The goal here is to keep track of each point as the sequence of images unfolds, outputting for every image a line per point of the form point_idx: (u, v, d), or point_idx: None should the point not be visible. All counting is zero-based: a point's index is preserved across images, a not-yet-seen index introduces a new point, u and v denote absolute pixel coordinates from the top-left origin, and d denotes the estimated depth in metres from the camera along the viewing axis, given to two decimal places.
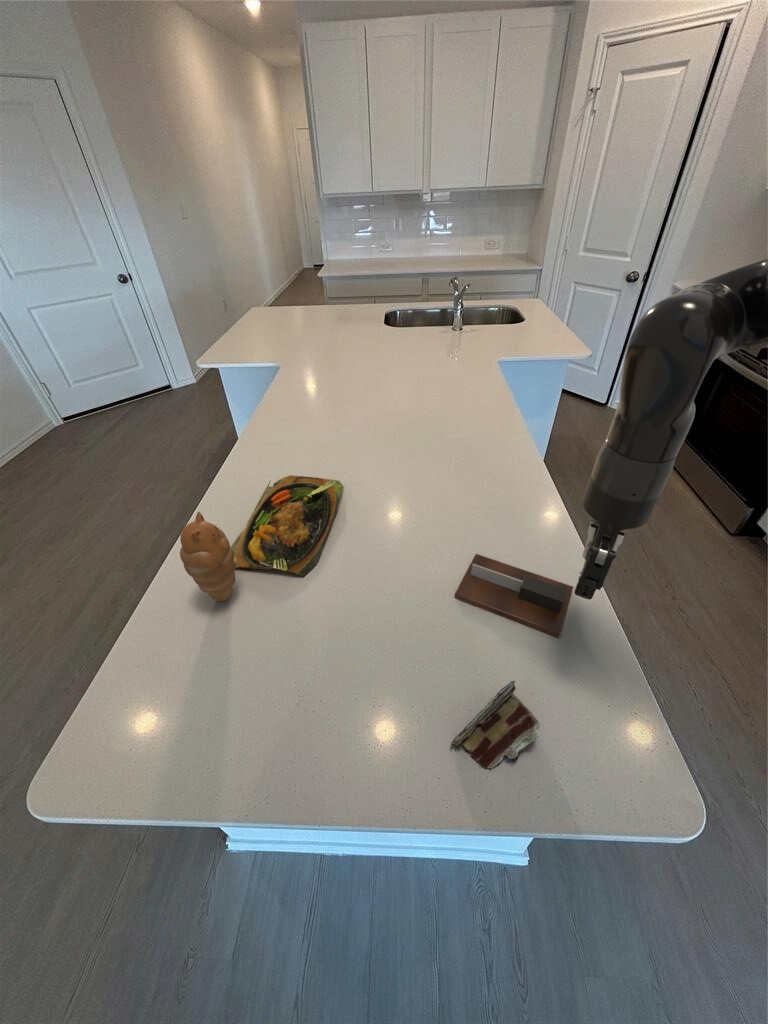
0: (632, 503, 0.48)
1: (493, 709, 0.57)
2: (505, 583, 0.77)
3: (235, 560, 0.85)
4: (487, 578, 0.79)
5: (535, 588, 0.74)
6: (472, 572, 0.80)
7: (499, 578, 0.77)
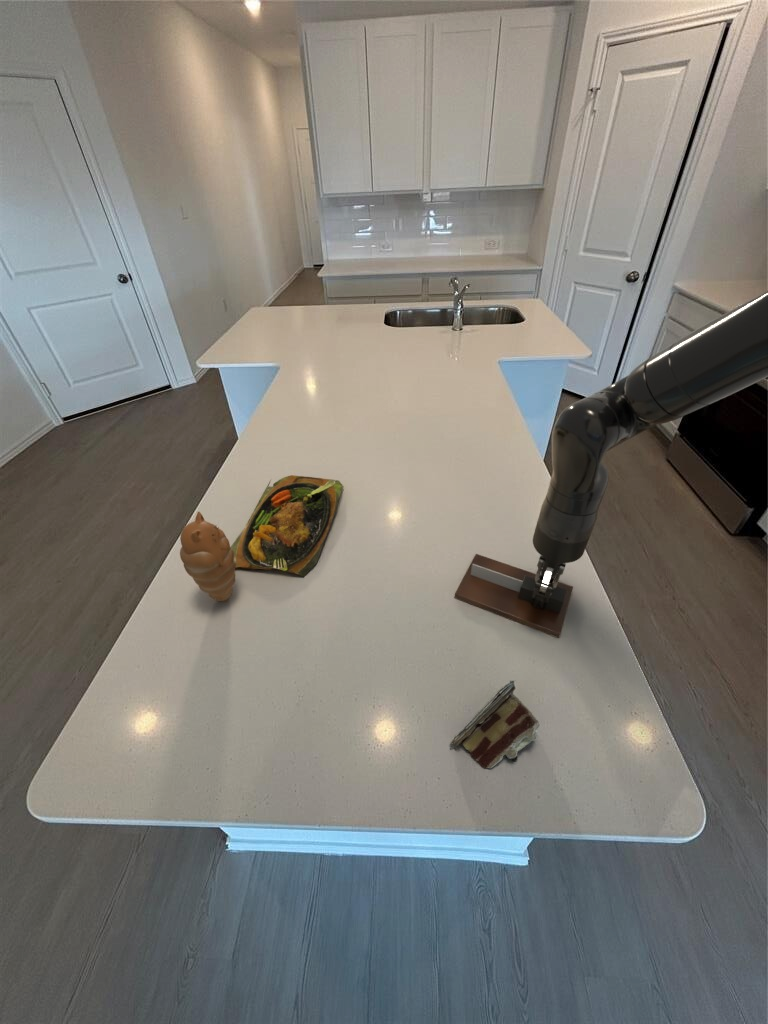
0: (566, 544, 0.62)
1: (493, 709, 0.57)
2: (505, 583, 0.77)
3: (235, 560, 0.85)
4: (487, 578, 0.79)
5: None
6: (472, 572, 0.80)
7: (499, 578, 0.77)
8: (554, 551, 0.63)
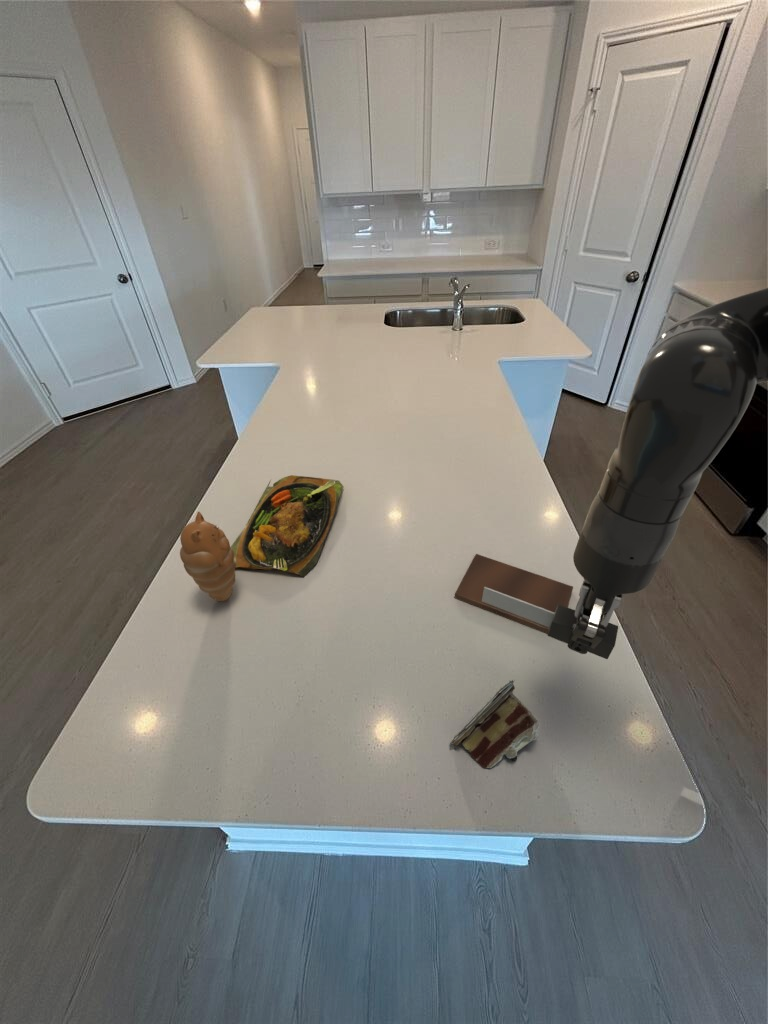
0: (629, 567, 0.41)
1: (492, 709, 0.57)
2: (529, 614, 0.56)
3: (235, 560, 0.85)
4: (504, 607, 0.57)
5: (572, 623, 0.52)
6: (484, 598, 0.59)
7: (521, 607, 0.56)
8: (609, 576, 0.42)
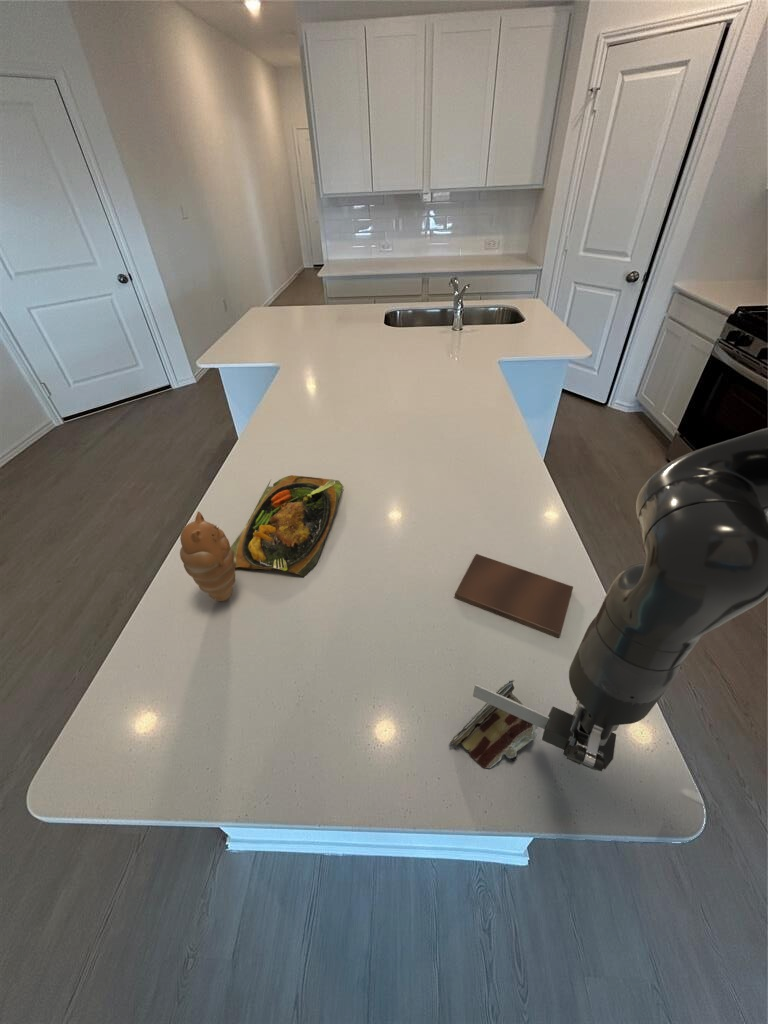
0: (629, 704, 0.38)
1: (492, 709, 0.57)
2: (523, 715, 0.53)
3: (235, 560, 0.85)
4: (496, 704, 0.55)
5: (568, 731, 0.50)
6: (475, 694, 0.56)
7: (514, 708, 0.53)
8: (608, 709, 0.39)
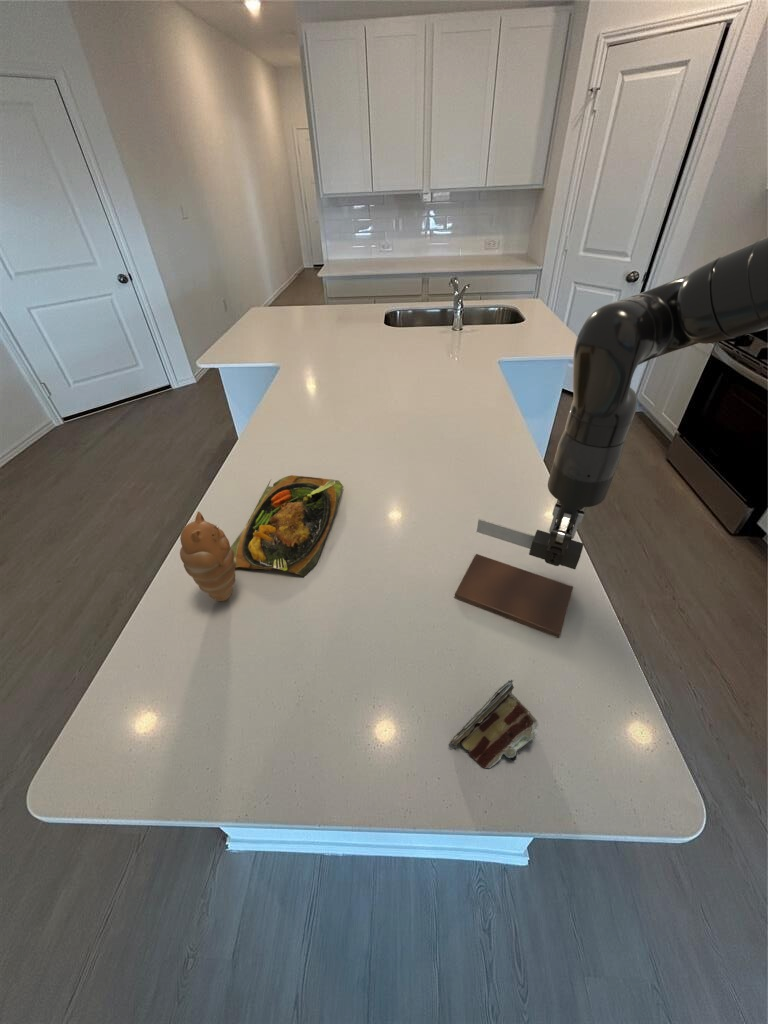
0: (587, 483, 0.55)
1: (491, 708, 0.57)
2: (515, 539, 0.70)
3: (235, 560, 0.85)
4: (495, 534, 0.72)
5: None
6: (478, 529, 0.73)
7: (508, 534, 0.70)
8: (573, 493, 0.56)
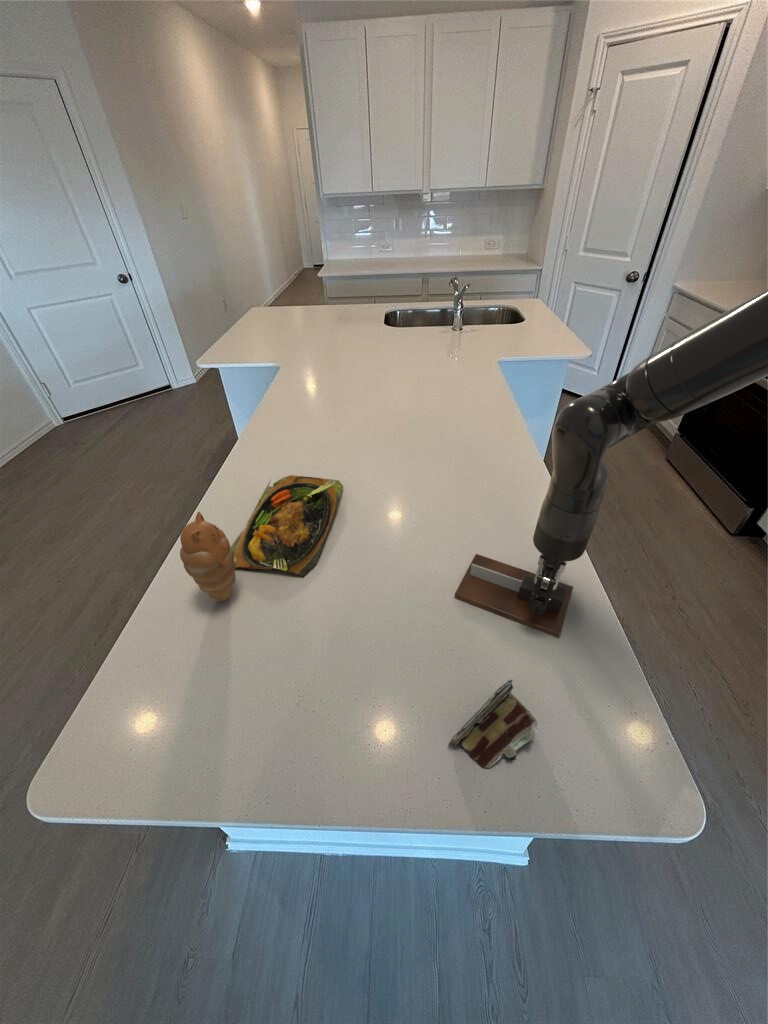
0: (567, 542, 0.62)
1: (491, 708, 0.57)
2: (504, 583, 0.77)
3: (235, 560, 0.85)
4: (486, 578, 0.79)
5: None
6: (471, 572, 0.80)
7: (498, 578, 0.77)
8: (555, 549, 0.63)
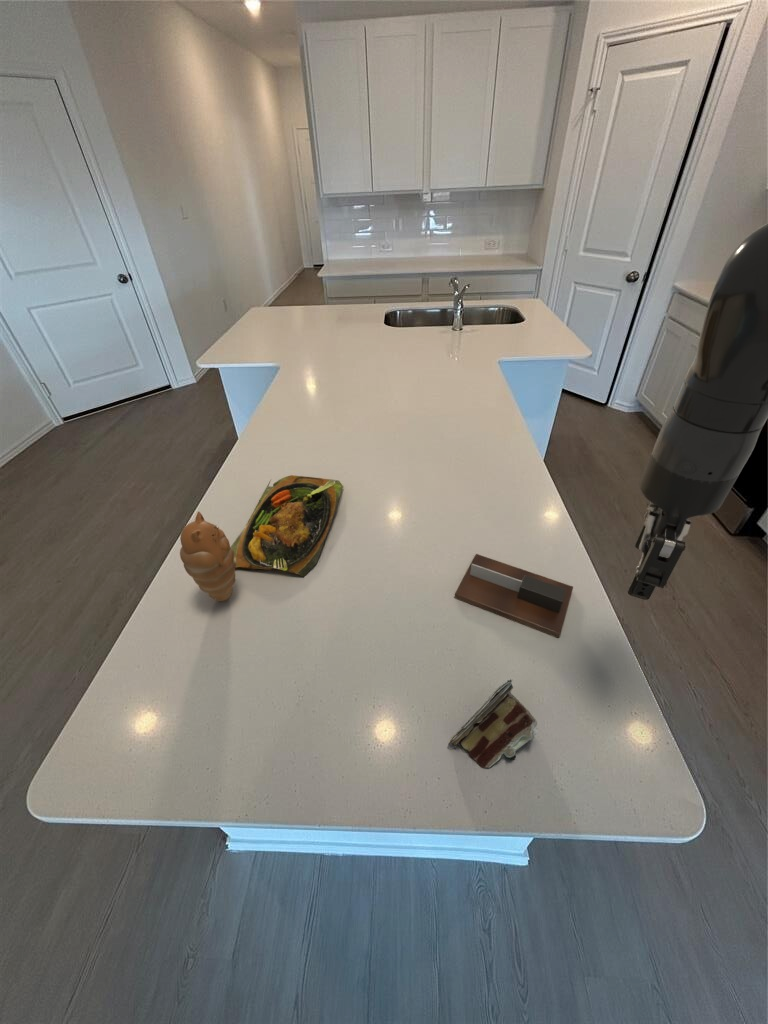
0: (706, 484, 0.40)
1: (490, 708, 0.58)
2: (504, 583, 0.77)
3: (235, 560, 0.85)
4: (486, 578, 0.79)
5: (534, 588, 0.74)
6: (471, 572, 0.80)
7: (498, 578, 0.77)
8: (683, 497, 0.42)
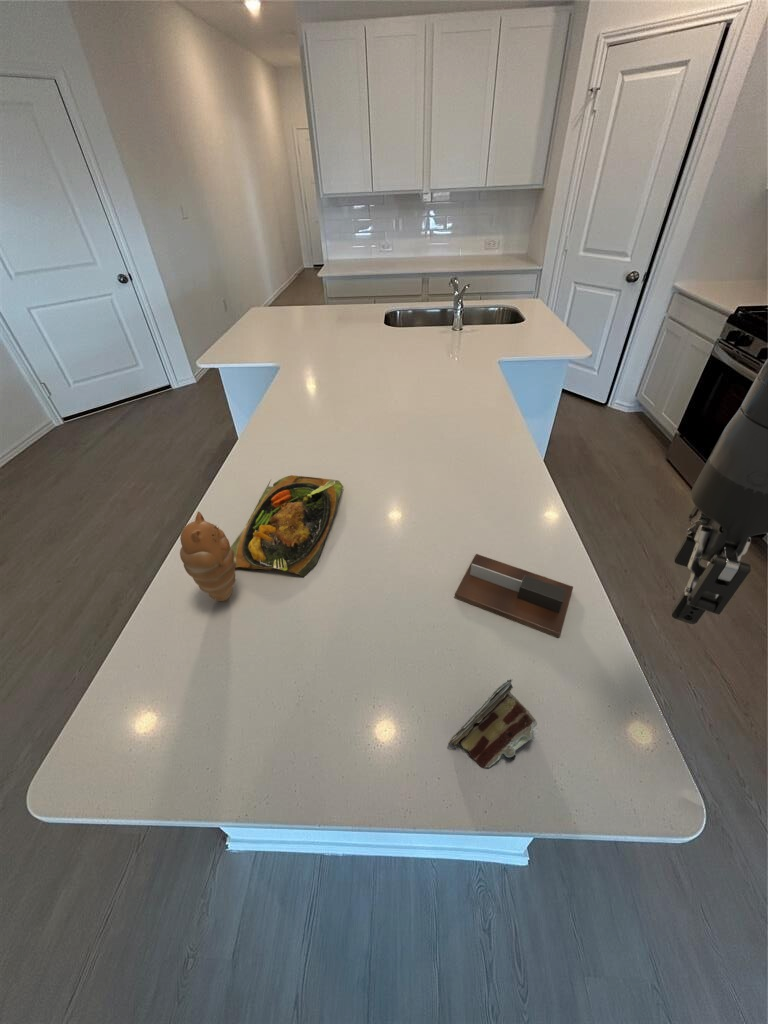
0: None
1: (490, 708, 0.58)
2: (504, 583, 0.77)
3: (235, 560, 0.85)
4: (486, 578, 0.79)
5: (534, 588, 0.74)
6: (471, 572, 0.80)
7: (498, 578, 0.77)
8: (749, 512, 0.36)
